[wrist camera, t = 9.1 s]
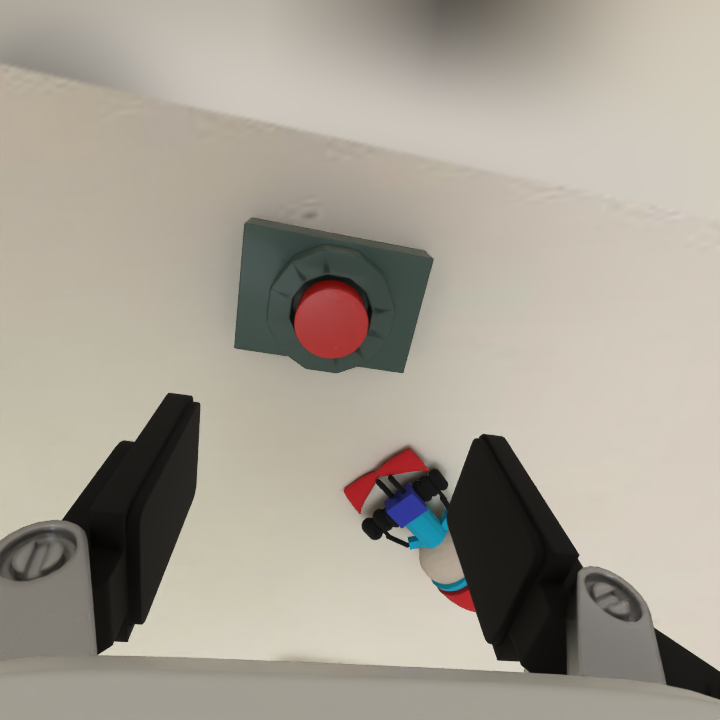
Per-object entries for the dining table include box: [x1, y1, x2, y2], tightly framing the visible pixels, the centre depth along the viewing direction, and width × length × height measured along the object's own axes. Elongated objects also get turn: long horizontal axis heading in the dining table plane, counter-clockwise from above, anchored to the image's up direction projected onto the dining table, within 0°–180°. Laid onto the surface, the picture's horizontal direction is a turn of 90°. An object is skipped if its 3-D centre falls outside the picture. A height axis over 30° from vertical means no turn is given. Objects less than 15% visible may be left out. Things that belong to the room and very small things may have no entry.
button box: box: [234, 218, 433, 373], centre depth 24 cm, size 10×7×4 cm
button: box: [294, 280, 368, 359], centre depth 22 cm, size 4×4×2 cm
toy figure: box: [344, 449, 476, 612], centre depth 32 cm, size 8×5×15 cm
